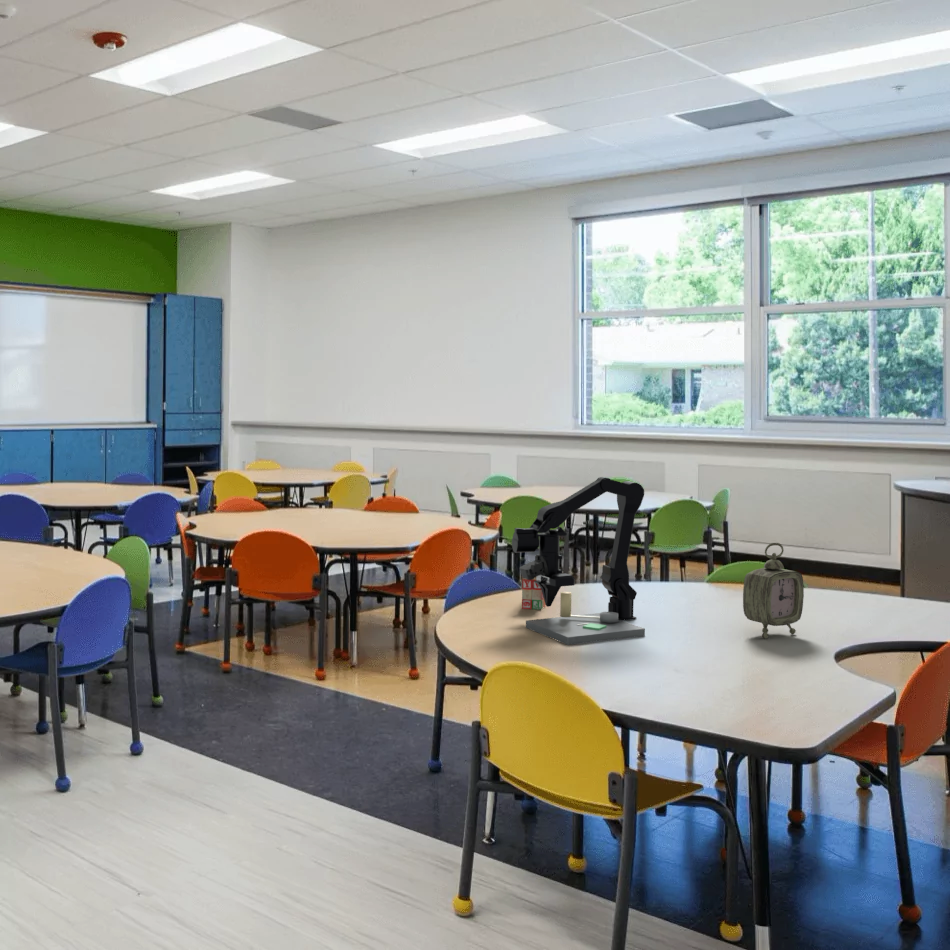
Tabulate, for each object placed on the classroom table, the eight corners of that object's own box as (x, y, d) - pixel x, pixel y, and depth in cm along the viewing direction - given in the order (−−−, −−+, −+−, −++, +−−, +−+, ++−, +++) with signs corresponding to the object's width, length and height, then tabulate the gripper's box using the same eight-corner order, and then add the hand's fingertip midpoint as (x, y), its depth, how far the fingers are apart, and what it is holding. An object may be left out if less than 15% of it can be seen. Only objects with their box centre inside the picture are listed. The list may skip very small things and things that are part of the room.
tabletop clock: (765, 641, 268) (767, 546, 266) (739, 634, 275) (741, 542, 274) (802, 634, 275) (805, 542, 274) (776, 628, 283) (778, 538, 281)
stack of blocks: (533, 595, 328) (534, 557, 327) (553, 596, 327) (553, 558, 326) (521, 609, 308) (522, 568, 307) (542, 610, 306) (542, 569, 305)
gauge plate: (598, 619, 292) (599, 611, 292) (644, 636, 273) (644, 626, 272) (525, 627, 282) (525, 618, 281) (567, 644, 262) (568, 635, 262)
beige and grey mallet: (619, 619, 282) (619, 594, 282) (617, 623, 277) (617, 597, 277) (561, 616, 286) (562, 591, 286) (558, 619, 281) (559, 594, 281)
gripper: (508, 548, 292) (507, 602, 293) (541, 557, 276) (540, 615, 277) (541, 546, 297) (541, 599, 298) (576, 555, 281) (575, 611, 282)
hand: (548, 606), depth 289 cm, fingers closed
